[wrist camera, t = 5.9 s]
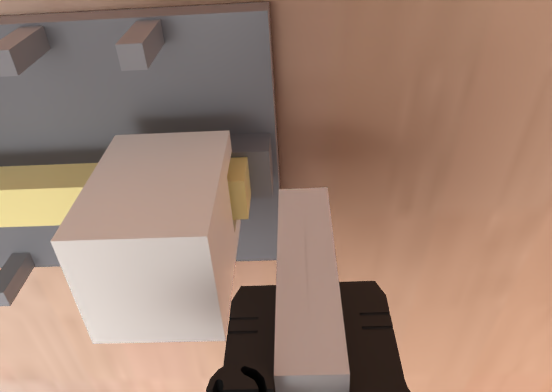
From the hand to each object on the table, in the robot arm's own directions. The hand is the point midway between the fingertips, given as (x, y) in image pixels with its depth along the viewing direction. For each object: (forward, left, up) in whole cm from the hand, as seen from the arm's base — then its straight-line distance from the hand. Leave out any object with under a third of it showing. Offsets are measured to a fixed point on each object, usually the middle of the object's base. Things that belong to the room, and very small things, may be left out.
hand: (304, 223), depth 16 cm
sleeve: (-4, -3, -3) cm, 5 cm away
